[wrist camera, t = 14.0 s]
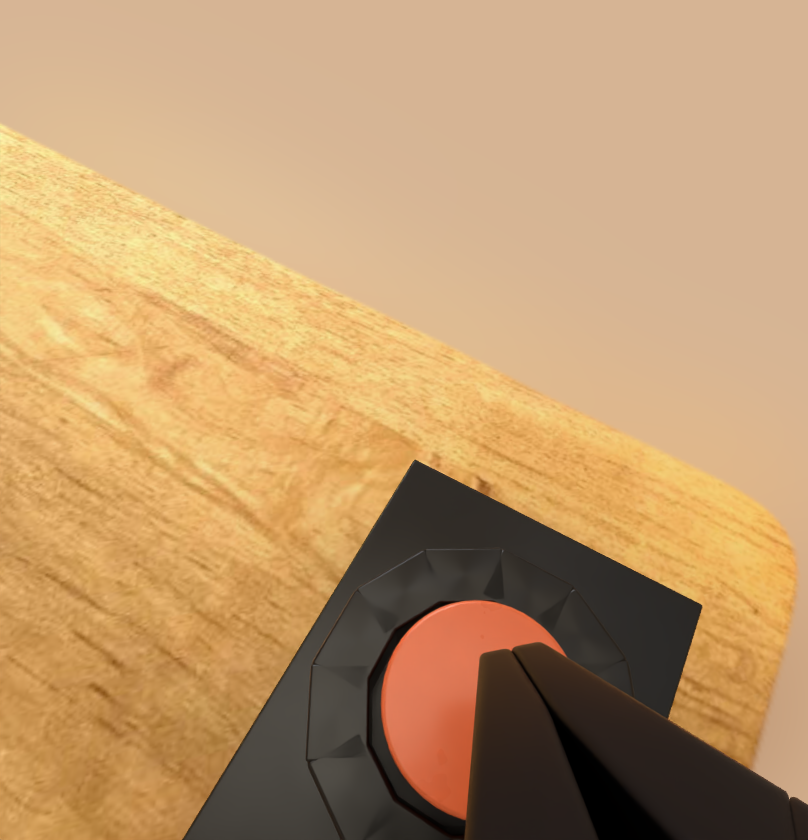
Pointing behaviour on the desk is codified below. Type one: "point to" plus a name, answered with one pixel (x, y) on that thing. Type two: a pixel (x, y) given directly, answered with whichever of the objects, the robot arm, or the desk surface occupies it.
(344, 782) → the button box
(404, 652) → the button
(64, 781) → the desk surface
